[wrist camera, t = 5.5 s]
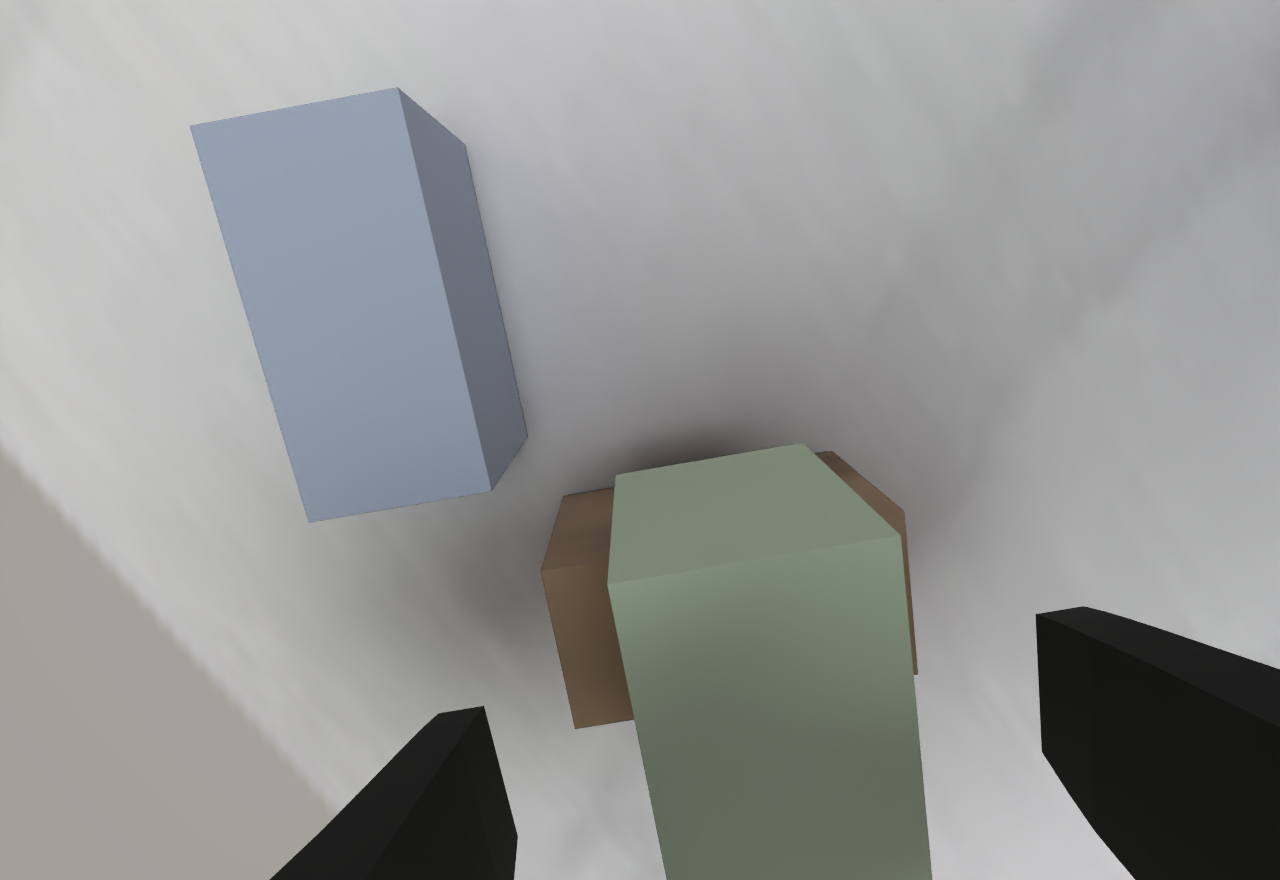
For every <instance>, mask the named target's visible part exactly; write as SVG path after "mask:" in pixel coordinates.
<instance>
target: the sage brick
mask: <svg viewBox="0 0 1280 880" xmlns="http://www.w3.org/2000/svg"><path fill="white" fill-rule="evenodd" d="M607 586H608V590H609V595H610V600H611V605H612V610H613V615H614V620H615V625H616V630H617V635H618V640H619V645H620V650H621V655H622V660H623V665H624V670H625V675H626V680H627V685H628V690H629V695H630V700H631V705H632V710H633V715H634V719H635V724H636V729H637V734H638V739H639V744H640V749H641V754H642V759H643V764H644V769H645V774H646V779H647V784H648V789H649V794H650V799H651V804H652V809H653V814H654V819H655V824H656V829H657V834H658V839H659V844H660V849H661V853H662V858H663V863H664V868H665V873H666V878H667V880H932V871H931V860H930V850H929V839H928V828H927V817H926V806H925V795H924V784H923V773H922V762H921V751H920V740H919V729H918V718H917V708H916V697H915V686H914V675H913V664H912V653H911V642H910V631H909V620H908V609H907V598H906V587H905V576H904V566H903V555H902V544H901V535H900V534H899V533H898V532H897V531H896V530H895V529H894V528H892V527H891V526H890V525H889V524H888V523H887V522H886V521H885V520H884V519H883V518H882V517H881V516H880V515H879V514H878V513H877V512H876V511H874V510H873V509H872V508H871V507H870V506H869V505H868V504H867V503H866V502H865V501H864V500H863V499H862V498H861V497H860V496H859V495H858V494H857V493H855V492H854V491H853V490H852V489H851V488H850V487H849V486H848V485H847V484H846V483H845V482H844V481H843V480H842V479H841V478H840V477H839V476H837V475H836V474H835V473H834V472H833V471H832V470H831V469H830V468H829V467H828V466H827V465H826V464H825V463H824V462H823V461H822V460H821V459H820V458H818V457H817V456H816V455H815V454H814V453H813V452H812V451H811V450H810V449H809V448H808V447H807V446H806V445H805V444H804V443H797V444H792V445H786V446H780V447H774V448H768V449H763V450H757V451H751V452H745V453H739V454H734V455H728V456H722V457H716V458H710V459H705V460H699V461H693V462H687V463H681V464H675V465H670V466H664V467H658V468H652V469H646V470H641V471H635V472H629V473H623V474H617V475H616V477H615V490H614V503H613V516H612V529H611V543H610V556H609V569H608V582H607Z"/></svg>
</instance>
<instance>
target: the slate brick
mask: <svg viewBox="0 0 1280 880" xmlns="http://www.w3.org/2000/svg"><path fill="white" fill-rule="evenodd" d="M190 129H191V133H192V136H193V139H194V143H195V146H196V149H197V153H198V156H199V159H200V162H201V166H202V169H203V172H204V176H205V179H206V182H207V186H208V189H209V192H210V196H211V199H212V202H213V206H214V209H215V212H216V216H217V219H218V222H219V226H220V229H221V232H222V236H223V239H224V242H225V246H226V249H227V252H228V256H229V259H230V262H231V266H232V269H233V272H234V276H235V279H236V282H237V286H238V289H239V292H240V296H241V299H242V302H243V306H244V309H245V312H246V316H247V319H248V322H249V326H250V329H251V332H252V336H253V339H254V342H255V346H256V349H257V352H258V356H259V359H260V362H261V366H262V369H263V372H264V376H265V379H266V382H267V386H268V389H269V392H270V396H271V399H272V402H273V406H274V409H275V412H276V416H277V419H278V422H279V426H280V429H281V432H282V436H283V439H284V442H285V446H286V449H287V452H288V456H289V459H290V462H291V465H292V469H293V472H294V475H295V479H296V482H297V485H298V489H299V492H300V495H301V499H302V502H303V505H304V509H305V512H306V515H307V519H308V522H309V523H310V522H316V521H322V520H328V519H333V518H339V517H345V516H351V515H357V514H363V513H368V512H374V511H380V510H386V509H392V508H398V507H403V506H409V505H415V504H421V503H427V502H433V501H438V500H444V499H450V498H456V497H462V496H468V495H473V494H479V493H485V492H491V491H492V490H493V489H494V487H495V486H496V484H497V482H498V481H499V479H500V478H501V476H502V475H503V473H504V472H505V470H506V469H507V467H508V466H509V464H510V462H511V461H512V459H513V458H514V456H515V455H516V453H517V452H518V450H519V449H520V447H521V446H522V444H523V443H524V441H525V439H526V438H527V431H526V427H525V422H524V417H523V413H522V408H521V403H520V399H519V394H518V389H517V385H516V380H515V376H514V371H513V366H512V362H511V357H510V352H509V348H508V343H507V339H506V334H505V329H504V325H503V320H502V315H501V311H500V306H499V302H498V297H497V292H496V288H495V283H494V278H493V274H492V269H491V264H490V260H489V255H488V251H487V246H486V241H485V237H484V232H483V227H482V223H481V218H480V214H479V209H478V204H477V200H476V195H475V190H474V186H473V181H472V176H471V172H470V167H469V163H468V158H467V153H466V149H465V144H464V143H463V142H462V141H460V140H459V139H458V138H457V137H456V136H454V135H453V134H452V133H451V132H450V131H449V130H447V129H446V128H445V127H444V126H443V125H441V124H440V123H439V122H438V121H437V120H436V119H434V118H433V117H432V116H431V115H430V114H428V113H427V112H426V111H425V110H424V109H423V108H421V107H420V106H419V105H418V104H417V103H415V102H414V101H413V100H412V99H411V98H410V97H408V96H407V95H406V94H405V93H404V92H403V91H401V90H400V89H399V88H398V87H397V88H392V89H386V90H381V91H375V92H370V93H364V94H359V95H354V96H348V97H343V98H337V99H332V100H327V101H321V102H316V103H310V104H305V105H300V106H294V107H289V108H283V109H278V110H273V111H267V112H262V113H256V114H251V115H246V116H240V117H235V118H229V119H224V120H219V121H213V122H208V123H202V124H197V125H192V126H190Z"/></svg>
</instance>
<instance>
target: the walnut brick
mask: <svg viewBox="0 0 1280 880" xmlns="http://www.w3.org/2000/svg"><path fill="white" fill-rule="evenodd" d="M815 455H816V456H817V457H818V458H820V459H821V460H822V461H823V462H824V463H825V464H826V465H827V466H828V467H829V468H830V469H831V470H832V471H833V472H834V473H835V474H836V475H837V476H839V477H840V478H841V479H842V480H843V481H844V482H845V483H846V484H847V485H848V486H849V487H850V488H851V489H852V490H853V491H854V492H855V493H857V494H858V495H859V496H860V497H861V498H862V499H863V500H864V501H865V502H866V503H867V504H868V505H869V506H870V507H871V508H872V509H873V510H874V511H876V512H877V513H878V514H879V515H880V516H881V517H882V518H883V519H884V520H885V521H886V522H887V523H888V524H889V525H890V526H891V527H892V528H894V529H895V530H896V531H897V532H898V533H899V534H900V535H901V544H902V555H903V566H904V576H905V587H906V598H907V609H908V620H909V631H910V642H911V653H912V664H913V675H917V674H918V669H917V657H916V646H915V634H914V622H913V610H912V598H911V586H910V575H909V563H908V551H907V539H906V527H905V515H904V511H903V510H902V509H901V508H900V507H898V506H897V505H896V504H895V503H894V502H892V501H891V500H890V499H889V498H888V497H886V496H885V495H884V494H883V493H882V492H880V491H879V490H878V489H877V488H876V487H874V486H873V485H872V484H871V483H870V482H868V481H867V480H866V479H865V478H864V477H862V476H861V475H860V474H859V473H858V472H857V471H855V470H854V469H853V468H852V467H851V466H849V465H848V464H847V463H846V462H845V461H843V460H842V459H841V458H840V457H839V456H837V455H836V454H835V453H834V452H833V451H831V452H825V453H819V454H815ZM614 490H615V488H610V489H604V490H598V491H592V492H586V493H580V494H574V495H568V496H563V499H562V502H561V506H560V509H559V512H558V516H557V519H556V522H555V525H554V529H553V532H552V535H551V539H550V542H549V545H548V549H547V552H546V555H545V559H544V562H543V565H542V568H541V575H542V580H543V584H544V589H545V594H546V598H547V603H548V607H549V612H550V616H551V621H552V626H553V630H554V635H555V639H556V644H557V648H558V653H559V658H560V662H561V667H562V671H563V676H564V680H565V685H566V690H567V694H568V699H569V703H570V708H571V712H572V717H573V722H574V726H575V729H579V728H585V727H591V726H597V725H604V724H610V723H616V722H622V721H629V720H635V719H634V715H633V710H632V705H631V700H630V695H629V690H628V685H627V680H626V675H625V670H624V665H623V660H622V655H621V650H620V645H619V640H618V635H617V630H616V625H615V620H614V615H613V610H612V605H611V600H610V595H609V590H608V586H607V582H608V569H609V556H610V543H611V529H612V516H613V503H614Z"/></svg>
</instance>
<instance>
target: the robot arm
mask: <svg viewBox="0 0 1280 880" xmlns="http://www.w3.org/2000/svg"><path fill="white" fill-rule="evenodd" d="M1036 631H1037V653H1038V675H1039V697H1040V719H1041V741H1042V753H1043V754H1044V756H1045V757H1046V759H1047V760H1048V762H1049V764H1050V765H1051V767H1052V768H1053V770H1054V771H1055V773H1056V774H1057V776H1058V777H1059V779H1060V781H1061V782H1062V784H1063V785H1064V787H1065V788H1066V790H1067V791H1068V793H1069V794H1070V796H1071V797H1072V799H1073V800H1074V802H1075V803H1076V805H1077V806H1078V808H1079V809H1080V810H1081V812H1082V813H1083V815H1084V816H1085V818H1086V819H1087V821H1088V822H1089V823H1090V825H1091V826H1092V828H1093V829H1094V830H1095V832H1096V833H1097V834H1098V835H1099V837H1100V838H1101V839H1102V840H1103V841H1104V843H1105V844H1106V845H1107V846H1108V848H1109V849H1110V850H1111V851H1112V852H1113V854H1114V855H1115V856H1116V857H1117V858H1118V860H1119V861H1120V862H1121V863H1122V864H1123V866H1124V867H1125V868H1126V869H1127V870H1128V872H1129V873H1130V874H1131V875H1132V876H1133V878H1134V879H1135V880H1280V669H1277V668H1274V667H1271V666H1268V665H1265V664H1262V663H1259V662H1256V661H1253V660H1250V659H1247V658H1244V657H1241V656H1238V655H1235V654H1232V653H1229V652H1226V651H1224V650H1221V649H1218V648H1215V647H1212V646H1209V645H1206V644H1203V643H1200V642H1197V641H1194V640H1191V639H1188V638H1185V637H1182V636H1180V635H1177V634H1174V633H1171V632H1168V631H1165V630H1162V629H1159V628H1156V627H1153V626H1150V625H1147V624H1143V623H1140V622H1137V621H1134V620H1131V619H1128V618H1125V617H1121V616H1118V615H1115V614H1111V613H1108V612H1104V611H1100V610H1096V609H1092V608H1088V607H1084V606H1083V607H1077V608H1071V609H1065V610H1059V611H1053V612H1047V613H1041V614H1036ZM517 839H518V836H517V832H516V828H515V824H514V820H513V816H512V813H511V809H510V805H509V801H508V797H507V793H506V789H505V785H504V782H503V778H502V774H501V770H500V766H499V762H498V758H497V754H496V751H495V747H494V743H493V739H492V735H491V731H490V727H489V724H488V720H487V716H486V712H485V708H484V706H481V707H475V708H469V709H463V710H457V711H451V712H445V713H439V714H437V715H436V716H435V717H434V718H433V719H432V720H431V721H430V722H429V723H427V724H426V725H425V726H424V727H423V728H422V729H421V730H420V731H419V732H418V733H417V734H416V735H415V736H414V737H413V738H412V739H411V740H410V741H409V742H408V743H407V744H406V745H405V746H404V747H403V748H402V749H401V750H400V751H399V752H398V753H397V754H396V755H395V756H394V757H393V759H392V760H391V761H390V762H389V763H388V764H387V765H386V766H385V767H384V768H383V769H382V770H381V771H380V772H379V773H378V774H377V775H376V776H375V777H374V778H373V779H372V780H371V781H370V782H369V783H368V784H367V785H366V786H365V787H364V788H363V789H362V790H361V791H360V792H359V793H358V794H357V795H356V796H355V797H354V798H353V799H352V800H351V801H350V802H349V803H348V804H347V805H346V806H345V807H344V808H343V810H342V811H341V812H340V813H339V814H338V815H337V816H336V817H335V818H334V819H333V820H332V821H331V822H330V823H329V824H328V825H327V826H326V827H325V828H324V829H323V830H322V831H321V832H320V833H319V834H318V835H317V836H316V837H314V838H313V839H312V840H311V842H309V843H308V844H307V845H306V846H305V847H304V848H303V849H302V850H301V851H300V852H299V853H298V854H296V855H295V856H294V857H293V858H292V859H291V860H290V861H289V862H288V863H287V864H286V865H285V866H284V867H283V868H282V869H281V870H279V872H278V873H276V874H275V875H274V876H273V877H272V878H271V879H270V880H514V872H515V861H516V850H517Z"/></svg>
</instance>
